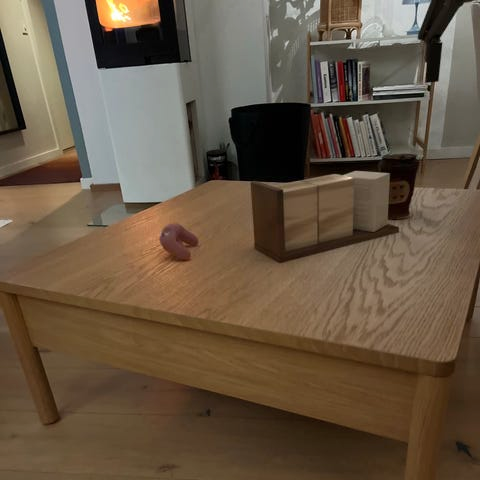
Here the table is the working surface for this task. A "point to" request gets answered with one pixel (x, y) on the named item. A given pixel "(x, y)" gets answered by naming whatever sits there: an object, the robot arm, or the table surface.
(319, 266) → the table surface
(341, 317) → the table surface
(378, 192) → the small box
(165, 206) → the table surface
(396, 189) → the coffee cup
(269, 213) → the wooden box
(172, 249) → the pink curved tube
